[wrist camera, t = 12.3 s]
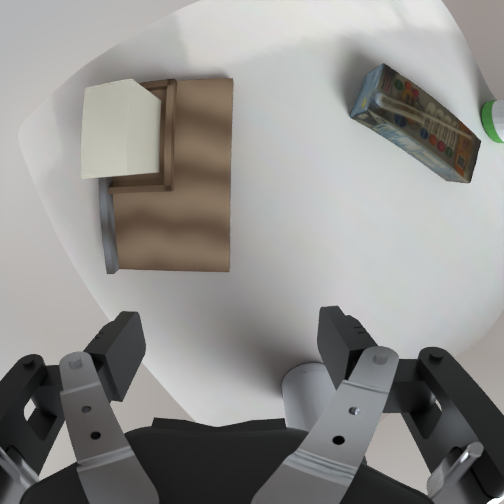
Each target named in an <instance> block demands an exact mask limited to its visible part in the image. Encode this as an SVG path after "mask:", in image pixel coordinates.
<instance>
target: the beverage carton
mask: <svg viewBox="0 0 504 504" xmlns="http://www.w3.org/2000/svg"><path fill="white" fill-rule="evenodd" d="M350 118H352V119H354V120H356V121H357V122H359V123H361V124H363V125H364V126H366V127H368V128H370V129H371V130H373V131H375V132H376V133H378V134H379V135H381V136H383V137H384V138H386V139H388V140H389V141H391V142H392V143H394V144H395V145H397V146H398V147H400V148H401V149H403V150H404V151H406V152H407V153H409V154H410V155H411V156H413V157H414V158H416V159H417V160H419V161H420V162H421V163H423V164H424V165H425V166H427V167H428V168H430V169H431V170H432V171H434V172H435V173H436V174H438V175H439V176H440V177H442V178H443V179H445V180H446V181H453V182H460V183H470V182H471V179H472V174H473V171H474V167H475V165H476V161H477V156H478V151H479V148H480V144H481V140H480V139H479V138H477V136H476V135H475V134H474V133H473V132H472V131H471V130H470V129H469V128H467V127H466V126H465V125H464V124H463V123H462V122H461V121H460V120H459V119H458V118H457V117H455V116H454V115H453V114H452V113H451V112H449V111H448V110H447V109H446V108H445V107H444V106H442V105H441V104H440V103H439V102H437V101H436V100H435V99H434V98H433V97H431V96H430V95H429V94H427V93H426V92H425V91H423V90H422V89H421V88H419V87H418V86H417V85H415V84H414V83H412V82H411V81H409V80H408V79H406V78H405V77H403V76H402V75H400V74H399V73H398V72H397V71H395V70H393V69H391V68H390V67H389V66H388V65H386V64H381V65H380V66H379V67H378V68H376V69H374V70H373V71H371V72H370V73H369V74H368V75H367V76H365V79H364V82H363V85H362V88H361V91H360V93H359V95H358V98H357V100H356V103H355V105H354V108H353V110H352V112H351V115H350Z"/></svg>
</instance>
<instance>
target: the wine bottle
mask: <svg viewBox="0 0 504 504" xmlns="http://www.w3.org/2000/svg"><path fill="white" fill-rule="evenodd" d="M482 122H483V126H484V129H485V131H486V133H487V135H488V136H489V137H490V138H491V139H492V140H493V141H495V142H497V143H504V99H502V100H495V101H489V102H487V103H485V105H484V106H483V109H482Z"/></svg>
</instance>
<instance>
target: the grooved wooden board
mask: <svg viewBox="0 0 504 504" xmlns="http://www.w3.org/2000/svg"><path fill="white" fill-rule="evenodd" d="M138 84H140V85H141V86H142V87H144V88H145V89H146V90H148V91H149V92H150V93H152V94H153V95H154V96H156V97H157V98H158V99H160V100H161V119H160V152H159V172H157V173H145V174H134V175H123V176H111V177H100V178H99V199H100V215H101V228H102V238H103V248H104V256H105V263H106V271H107V274H114V273H115V272H116V271H118V270H119V269H135V270H165V271H202V272H229V269H230V187H231V140H232V107H233V79H197V80H182V81H176V80H175V79H167V80H158V81H150V82H143V83H138Z"/></svg>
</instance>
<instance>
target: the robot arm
mask: <svg viewBox="0 0 504 504" xmlns="http://www.w3.org/2000/svg"><path fill="white" fill-rule="evenodd" d="M317 345H318V350H319V353H320V355H321V357H322V360H323V362H324V364H325V365H324V364H320V363H306V364H303V365H300V366H297V367H295V368H294V369H292V370H290V371H289V372H288V373H287V374H286V375H285V377H284V378H283V380H282V384H281V388H282V394H283V400H284V407H285V413H286V420H287V426H288V427H286V424H285V419H284V418H280V419H267V420H251V421H247V422H242V423H237V424H232V425H227V426H222V427H213V426H208V425H204V424H199V423H195V422H190V421H187V420H178V419H164V418H154V420H153V423H152V426H148V427H143V428H138V429H135V430H132V431H129V432H127V433H125V434H124V433H123V431H122V429H121V427H120V425H119V423H118V421H117V419H116V417H115V415H114V413H113V410H112V408H111V406H110V402H111V401H112V400H113V401H119V402H122V401H123V399H124V397H125V395H126V393H127V390H128V388H129V386H130V384H131V382H132V380H133V378H134V376H135V374H136V372H137V369H138V367H139V365H140V363H141V361H142V359H143V357H144V355H145V351H146V343H145V338H144V334H143V329H142V324H141V319H140V315H139V313H138V312H127V311H122V312H121V313H120V314H119V315H118V316H117V317H116V319H115V320H114V321H111V322H110V323H108V324H106V325H105V326H103V328H102V329H101V330H100V331H99V334H97V335H96V336H95V339H93V340H92V341H91V342H90V343H89V345H88V346H87V347H86V348H85V350H84V351H83V352H73V353H70V354H68V355H66V356H64V357H63V358H62V359H61V361H60V363H59V365H50V366H46V365H45V363H44V360H43V358H42V357H41V356H40V355H37V354H31V355H27V356H24V357H22V358H21V359H19V360H18V362H17V363H16V364H15V365H14V366H13V367H12V368H11V369H10V370H9V372H8V373H7V374H6V375H5V376H4V377H3V379H2V380H1V381H0V504H497V503H499V502H500V501H501V500H502V499H503V498H504V415H503V414H502V413H501V412H500V410H499V409H498V408H497V407H496V406H495V404H494V403H493V402H492V401H491V400H490V398H489V397H488V396H487V395H486V394H485V392H484V391H483V390H482V389H481V388H480V387H479V386H478V384H477V383H476V382H475V381H474V380H473V379H472V378H471V376H470V375H469V374H468V373H467V372H466V371H465V370H464V369H463V368H462V366H461V365H460V364H459V363H458V362H457V361H456V360H455V359H454V358H453V357H452V356H451V355H450V353H448V352H447V351H446V350H444V349H441V348H438V347H427V348H424V349H422V350H421V351H420V353H419V356H418V359H399V356H398V354H397V353H396V352H395V351H394V350H392V349H390V348H387V347H383V346H378V345H377V344H376V342H375V341H374V340H373V339H372V337H371V336H370V335H369V333H368V332H367V331H366V330H365V328H364V327H363V326H362V325H361V323H360V322H359V321H358V320H357V319H355V318H353V317H352V316H350V315H347V316H345V315H344V313H343V312H342V310H341V309H340V308H339V306H328V307H321V308H320V313H319V324H318V336H317ZM30 398H31V399H32V401H33V403H34V404H35V406H36V408H35V409H34V411H33V413H32V414H31V416H30V417H29V419H28V421H26V419H25V417H24V407H25V406H26V404H27V403H28V401H29V400H30ZM436 399H437V400H438V402H439V403H440V405H441V409H442V412H441V410H440V409H439V407H438V406H437V404H436V403H435V401H436ZM382 413H401V415H402V417H403V418H404V420H405V422H406V424H407V426H408V428H409V430H410V432H411V434H412V436H413V438H414V440H415V442H416V444H417V446H418V448H419V450H420V452H421V454H422V456H423V458H424V460H425V462H426V464H427V467H428V468H429V471H430V473H431V476H430V477H429V479H428V481H427V492H428V496H427V495H425V494H424V493H422V492H420V491H418V490H416V489H413V488H411V487H409V486H407V485H405V484H403V483H400V482H398V481H396V480H394V479H392V478H391V477H388V476H386V475H385V474H383V473H381V472H379V471H377V470H375V469H373V468H372V467H369V466H368V465H367V461H366V458H365V453H366V451H367V448H368V446H369V444H370V442H371V439H372V437H373V434H374V432H375V429H376V427H377V425H378V422H379V420H380V417H381V414H382ZM65 420H66V424H67V428H68V432H69V436H70V440H71V443H72V447H73V450H74V453H75V456H76V459H77V462H75V463H73V464H71V465H70V466H68V467H66V468H64V469H62V470H60V471H59V472H57V473H55V474H53V475H51V476H49V477H47V478H45V479H43V480H41V481H39V478H38V476H39V474H40V472H41V470H42V467H43V465H44V463H45V461H46V458H47V456H48V454H49V451H50V450H51V448H52V446H53V443H54V441H55V439H56V437H57V435H58V433H59V431H60V429H61V427H62V425H63V423H64V421H65Z"/></svg>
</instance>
